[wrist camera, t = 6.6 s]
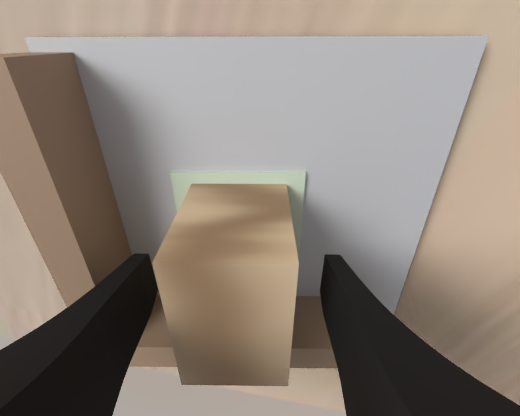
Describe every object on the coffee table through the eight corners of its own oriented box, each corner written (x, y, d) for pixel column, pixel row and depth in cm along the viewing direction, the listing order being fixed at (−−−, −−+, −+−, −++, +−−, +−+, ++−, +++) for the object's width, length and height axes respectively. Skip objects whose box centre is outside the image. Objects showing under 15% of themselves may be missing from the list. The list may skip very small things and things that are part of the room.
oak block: (286, 184, 12) (299, 264, 8) (280, 287, 15) (287, 385, 11) (191, 183, 12) (152, 262, 8) (204, 286, 15) (181, 384, 11)
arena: (480, 35, 10) (576, 35, 7) (388, 315, 17) (415, 374, 14) (32, 37, 10) (-67, 37, 7) (127, 313, 17) (99, 371, 14)
